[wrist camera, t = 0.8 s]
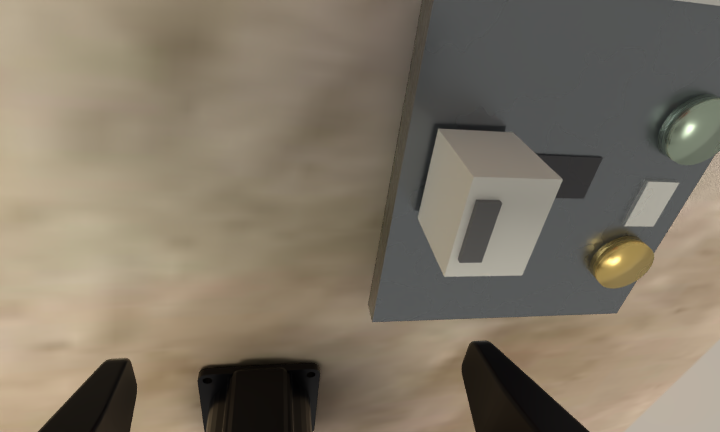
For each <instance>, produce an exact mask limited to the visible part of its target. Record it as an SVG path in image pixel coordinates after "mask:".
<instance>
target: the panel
mask: <svg viewBox="0 0 720 432" xmlns="http://www.w3.org/2000/svg"><path fill="white" fill-rule="evenodd" d="M438 129H457V130H477V131H496V132H513V133H514V134H515V135H516V136H518V137H519V138H520V139H521V140H522V141H523V142H524V143H525V144H526V145H527V146H528V147H529V148H530V149H531V150H532V151H533V152H534V153H535V154H537V155H538V156H539V157H540V158H541V159H542V160H543V161H544V162H545V163H546V164H547V165H548V166H549V167H550V168H551V169H552V170H553V171H555V172H556V173H557V174H558V175H559V176H560V177H561V178H562V179H563V181H562V183H561V185H560V188H559V190H558V192H557V195H556V197H555V200H554V202H553V204H552V207H551V209H550V211H549V214H548V216H547V218H546V221H545V223H544V225H543V228H542V230H541V232H540V235H539V237H538V240H537V242H536V244H535V247H534V249H533V251H532V254H531V256H530V258H529V261H528V263H527V265H526V268H525V270H524V273H523V275H522V276H461V277H444V275H443V273H442V271H441V269H440V267H439V264H438V262H437V260H436V258H435V256H434V253H433V251H432V249H431V247H430V245H429V242H428V240H427V238H426V236H425V233H424V231H423V229H422V227H421V225H420V222H419V220H418V215H419V210H420V206H421V202H422V197H423V193H424V188H425V184H426V180H427V175H428V171H429V167H430V162H431V158H432V154H433V149H434V145H435V140H436V136H437V132H438ZM719 151H720V0H422V5H421V11H420V16H419V22H418V27H417V33H416V39H415V44H414V50H413V56H412V61H411V67H410V72H409V78H408V84H407V89H406V95H405V101H404V106H403V112H402V117H401V123H400V129H399V134H398V140H397V146H396V151H395V157H394V163H393V168H392V174H391V179H390V185H389V191H388V196H387V202H386V208H385V213H384V219H383V224H382V230H381V236H380V241H379V247H378V253H377V258H376V264H375V269H374V275H373V281H372V286H371V292H370V298H369V303H368V306H369V310H370V314H371V319H372V322H387V321H415V320H443V319H471V318H498V317H526V316H554V315H582V314H610V313H617V312H618V310H619V309H620V307H621V305H622V304H623V302H624V301H625V299H626V297H627V296H628V294H629V293H630V291H631V289H632V288H633V286H634V284H635V283H636V281H637V280H638V279H639V278H641V277H642V276H643V275H644V274H645V273H646V272H647V271H648V270H649V268H650V267H651V265H652V263H653V260H654V252H655V251H656V249H657V247H658V246H659V244H660V243H661V241H662V239H663V238H664V236H665V235H666V233H667V231H668V230H669V228H670V226H671V225H672V223H673V222H674V220H675V218H676V217H677V215H678V214H679V212H680V210H681V209H682V207H683V206H684V204H685V202H686V201H687V199H688V197H689V196H690V194H691V193H692V191H693V189H694V188H695V186H696V185H697V183H698V181H699V180H700V178H701V176H702V175H703V173H704V172H705V170H706V168H707V167H708V165H709V164H710V162H711V160H712V159H713V157H714V156H715V154H716V153H718V152H719Z"/></svg>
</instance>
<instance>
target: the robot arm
mask: <svg viewBox="0 0 720 432" xmlns="http://www.w3.org/2000/svg"><path fill="white" fill-rule="evenodd" d="M462 376H463V380H464V385H465V389H466V393H467V397H468V401H469V406H470V410H471V414H472V418H473V422H474V427H475V431H476V432H589V431H588V430H587V429H586V428H585V427H584V426H583V425H582V424H581V423H579V422H578V421H577V420H576V419H575V418H574V417H573V416H572V415H571V414H569V413H568V412H567V411H566V410H565V409H564V408H563V407H562V406H561V405H559V404H558V403H557V402H556V401H555V400H554V399H553V398H552V397H551V396H549V395H548V394H547V393H546V392H545V391H544V390H543V389H542V388H541V387H540V386H538V385H537V384H536V383H535V382H534V381H533V380H532V379H531V378H530V377H528V376H527V375H526V374H525V373H524V372H523V371H522V370H521V369H520V368H518V367H517V366H516V365H515V364H514V363H513V362H512V361H511V360H510V359H509V358H507V357H506V356H505V355H504V354H503V353H502V352H501V351H500V350H499V349H497V348H496V347H495V346H494V345H493V344H492V343H490V342H489V341H473V342H471V343H470V344H469V347H468V349H467V352H466V355H465V358H464V360H463V363H462ZM319 378H320V370H319V366H318V365H317V364H315V363H301V364H282V365H263V366H244V367H225V368H207V369H203V370H201V371H200V372H199V376H198V387H199V395H200V402H201V409H202V416H203V423H204V431H205V432H313V431H314V425H315V416H316V407H317V397H318V388H319ZM136 395H137V383H136V379H135V375H134V371H133V367H132V364H131V361H130V360H129V359H128V358H119V359H108V360H106V361H105V362H103V363H102V364H101V365H100V366H99V368H98V369H97V370H96V371H95V372H94V373H93V374H92V375H91V376H90V377H89V378H88V379H87V380H86V381H85V382H84V383H83V384H82V386H81V387H80V388H79V389H78V390H77V391H76V392H75V393H74V394H73V395H72V396H71V397H70V398H69V399H68V400H67V401H66V402H65V404H64V405H63V406H62V407H61V408H60V409H59V410H58V411H57V412H56V413H55V414H54V415H53V416H52V417H51V418H50V419H49V420H48V422H47V423H46V424H45V425H44V426H43V427H42V428H41V429H40V430H39V431H38V432H130V428H131V422H132V417H133V411H134V406H135V401H136Z"/></svg>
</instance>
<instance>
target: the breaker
mask: <svg viewBox="0 0 720 432" xmlns="http://www.w3.org/2000/svg"><path fill="white" fill-rule="evenodd" d="M562 181H563V179H562V178H561V177H560V176H559V175H558V174H557V173H556V172H555V171H553V170H552V169H551V168H550V167H549V166H548V165H547V164H546V163H545V162H544V161H543V160H542V159H541V158H540V157H539V156H538V155H537V154H535V153H534V152H533V151H532V150H531V149H530V148H529V147H528V146H527V145H526V144H525V143H524V142H523V141H522V140H521V139H520V138H519V137H518V136H516V135H515V134H514V133H513V132H496V131H477V130H457V129H438V132H437V136H436V140H435V145H434V149H433V154H432V158H431V162H430V167H429V171H428V175H427V180H426V184H425V188H424V193H423V197H422V202H421V206H420V210H419V215H418V220H419V222H420V225H421V227H422V229H423V231H424V233H425V236H426V238H427V240H428V242H429V245H430V247H431V249H432V251H433V253H434V256H435V258H436V260H437V262H438V264H439V267H440V269H441V271H442V273H443V275H444V277H461V276H522V275H523V273H524V270H525V268H526V265H527V263H528V261H529V258H530V256H531V254H532V251H533V249H534V247H535V244H536V242H537V240H538V237H539V235H540V232H541V230H542V228H543V225H544V223H545V221H546V218H547V216H548V214H549V211H550V209H551V207H552V204H553V202H554V200H555V197H556V195H557V192H558V190H559V188H560V185H561V183H562Z"/></svg>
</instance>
